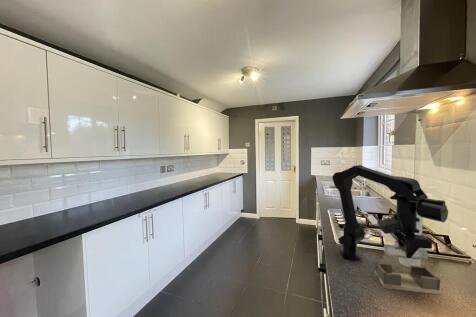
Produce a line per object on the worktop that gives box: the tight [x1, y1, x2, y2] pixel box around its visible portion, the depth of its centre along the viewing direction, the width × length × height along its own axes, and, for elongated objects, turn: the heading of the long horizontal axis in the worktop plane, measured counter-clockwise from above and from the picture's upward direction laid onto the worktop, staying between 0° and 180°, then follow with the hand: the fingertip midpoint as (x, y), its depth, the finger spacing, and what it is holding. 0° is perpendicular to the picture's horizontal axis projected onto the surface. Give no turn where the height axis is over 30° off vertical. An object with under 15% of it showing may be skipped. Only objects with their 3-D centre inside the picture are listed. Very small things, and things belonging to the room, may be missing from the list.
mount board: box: [374, 270, 442, 295], centre depth 76 cm, size 8×17×1 cm, turn 77°
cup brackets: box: [375, 261, 441, 291], centre depth 76 cm, size 8×17×4 cm, turn 77°
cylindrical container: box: [398, 214, 424, 268], centre depth 87 cm, size 7×7×25 cm
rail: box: [383, 244, 429, 261], centre depth 75 cm, size 12×4×4 cm, turn 76°
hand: (405, 254), depth 76 cm, fingers closed on rail, 4 cm apart
